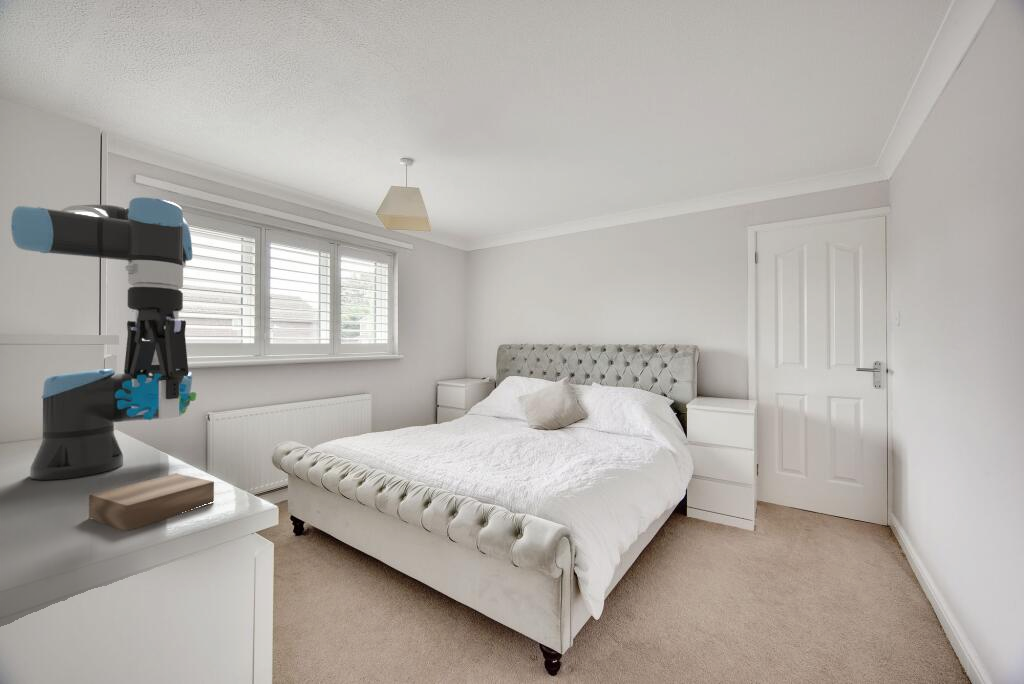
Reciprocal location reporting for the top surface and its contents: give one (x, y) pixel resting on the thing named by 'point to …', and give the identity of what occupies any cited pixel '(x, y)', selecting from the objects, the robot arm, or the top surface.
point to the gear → (148, 397)
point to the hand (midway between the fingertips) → (154, 415)
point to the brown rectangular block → (149, 500)
